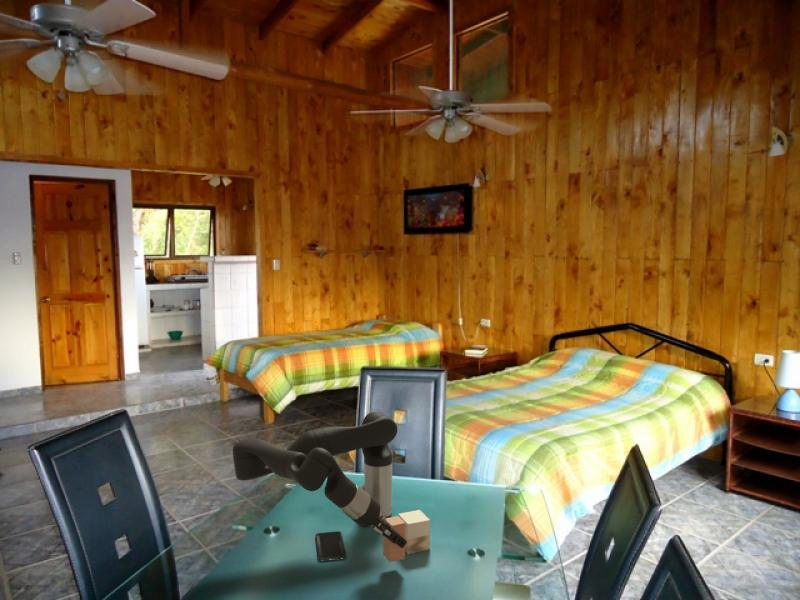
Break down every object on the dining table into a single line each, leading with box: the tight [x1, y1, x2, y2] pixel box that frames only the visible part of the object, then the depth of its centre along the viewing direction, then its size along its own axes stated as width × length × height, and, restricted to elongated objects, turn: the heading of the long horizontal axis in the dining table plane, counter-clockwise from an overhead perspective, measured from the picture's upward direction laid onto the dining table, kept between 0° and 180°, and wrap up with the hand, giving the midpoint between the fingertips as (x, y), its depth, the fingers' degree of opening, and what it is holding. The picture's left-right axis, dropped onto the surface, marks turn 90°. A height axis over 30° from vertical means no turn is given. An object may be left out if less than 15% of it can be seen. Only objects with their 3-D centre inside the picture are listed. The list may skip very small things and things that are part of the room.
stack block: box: [382, 515, 406, 563], centre depth 156 cm, size 4×4×10 cm
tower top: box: [397, 509, 431, 539], centre depth 168 cm, size 7×7×4 cm
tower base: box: [405, 534, 431, 555], centre depth 168 cm, size 7×7×4 cm
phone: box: [315, 530, 347, 561], centre depth 167 cm, size 8×1×15 cm
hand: (400, 540), depth 156 cm, fingers closed on stack block, 4 cm apart
